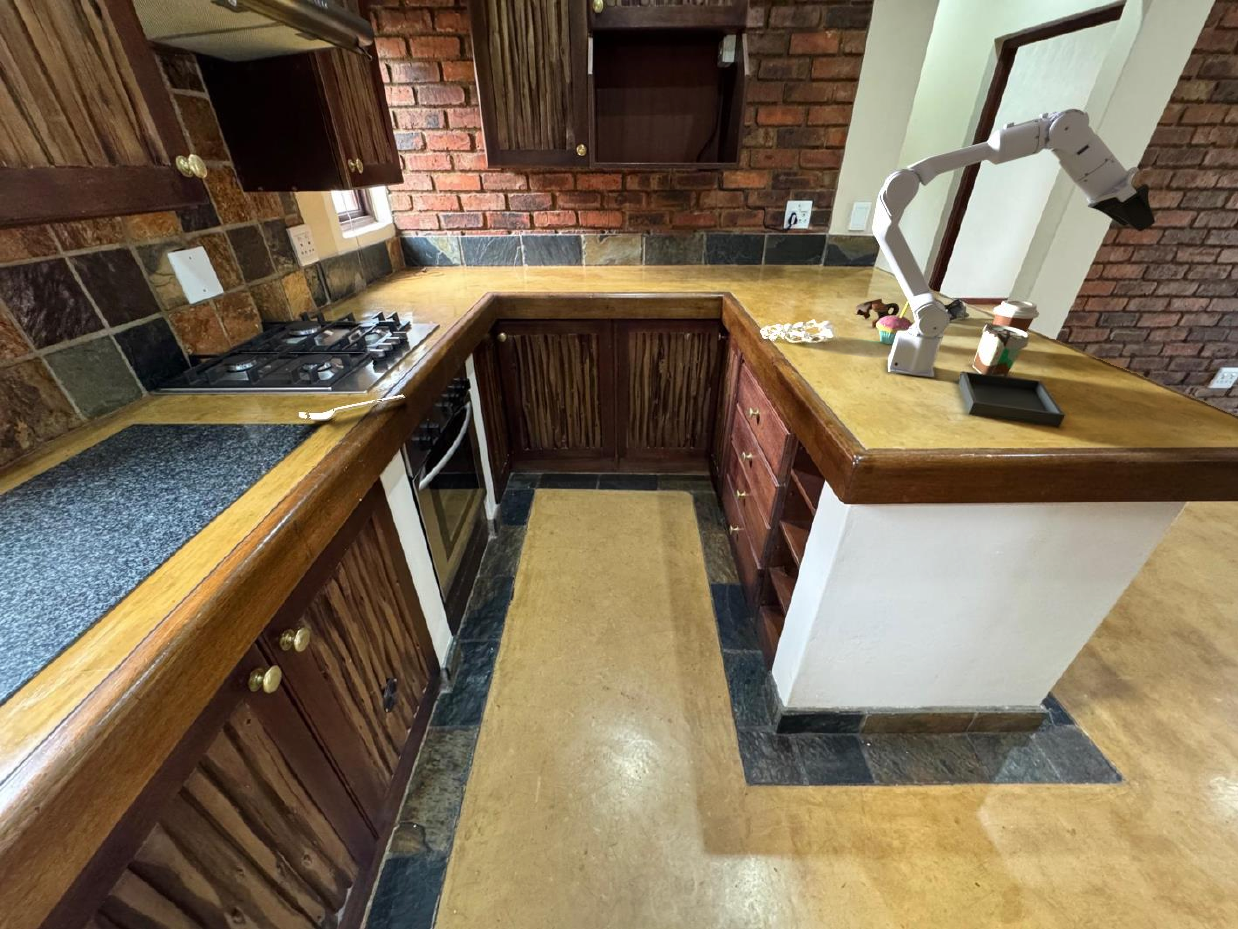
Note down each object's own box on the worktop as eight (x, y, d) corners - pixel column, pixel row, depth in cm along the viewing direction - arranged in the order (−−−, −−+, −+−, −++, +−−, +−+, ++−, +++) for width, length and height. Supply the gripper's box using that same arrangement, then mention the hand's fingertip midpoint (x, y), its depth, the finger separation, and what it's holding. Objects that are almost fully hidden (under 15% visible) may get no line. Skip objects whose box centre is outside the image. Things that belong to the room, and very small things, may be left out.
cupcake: (908, 340, 134) (922, 295, 128) (904, 349, 128) (919, 302, 122) (874, 335, 138) (886, 291, 132) (869, 343, 132) (881, 298, 126)
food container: (1022, 385, 107) (1043, 341, 102) (991, 383, 108) (1010, 340, 103) (997, 365, 118) (1015, 324, 112) (969, 363, 119) (985, 323, 113)
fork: (406, 401, 106) (404, 393, 105) (302, 425, 97) (299, 417, 96) (403, 396, 108) (401, 388, 107) (301, 419, 99) (298, 411, 98)
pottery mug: (863, 330, 143) (858, 302, 143) (853, 335, 152) (848, 309, 152) (906, 320, 141) (901, 291, 140) (893, 325, 150) (888, 299, 150)
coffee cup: (1004, 344, 130) (1024, 298, 123) (1030, 356, 122) (1052, 307, 116) (971, 345, 130) (989, 299, 123) (994, 357, 122) (1014, 308, 116)
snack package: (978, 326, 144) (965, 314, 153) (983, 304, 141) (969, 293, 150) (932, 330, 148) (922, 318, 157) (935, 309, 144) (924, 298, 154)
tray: (968, 414, 96) (973, 402, 95) (957, 381, 110) (961, 371, 108) (1059, 427, 91) (1065, 415, 90) (1036, 391, 104) (1041, 380, 103)
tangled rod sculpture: (758, 348, 134) (760, 334, 131) (761, 328, 145) (763, 315, 142) (834, 352, 129) (837, 337, 126) (831, 331, 140) (834, 317, 137)
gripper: (1136, 147, 80) (1186, 209, 81) (1105, 147, 91) (1149, 202, 92) (1085, 184, 84) (1133, 243, 85) (1061, 180, 95) (1104, 232, 96)
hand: (1138, 224), depth 89 cm, fingers open, 7 cm apart
